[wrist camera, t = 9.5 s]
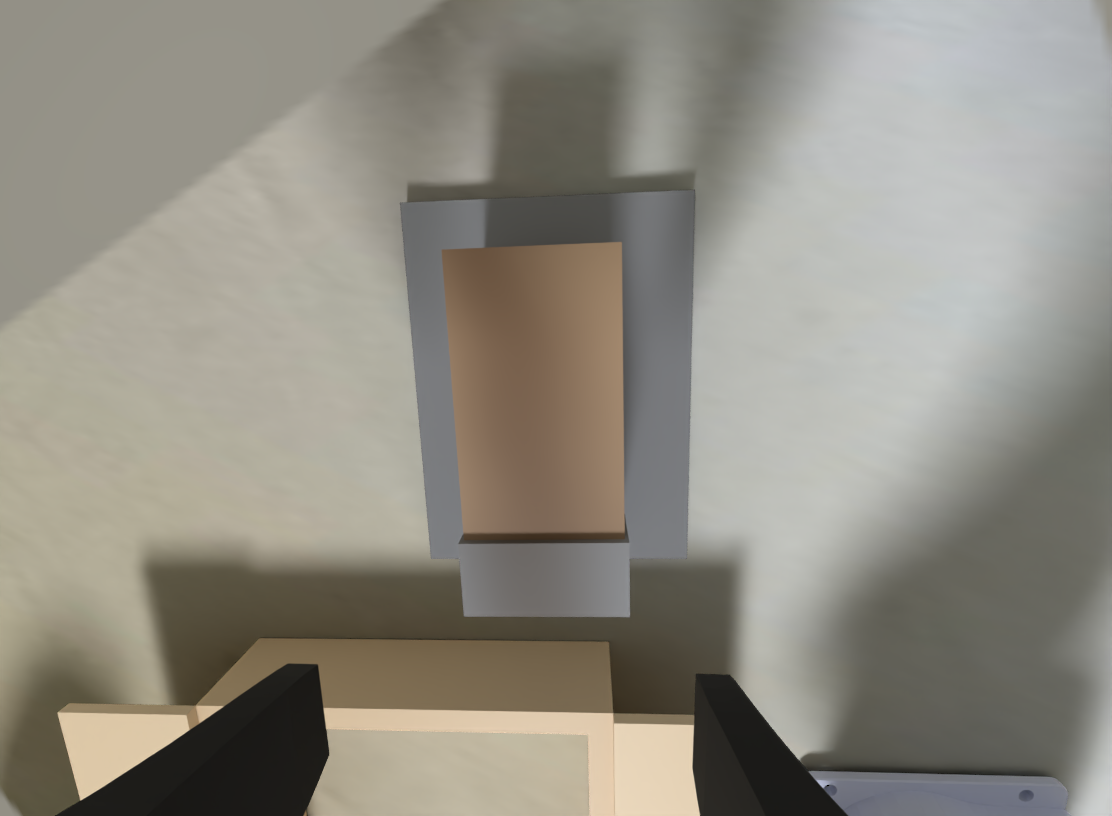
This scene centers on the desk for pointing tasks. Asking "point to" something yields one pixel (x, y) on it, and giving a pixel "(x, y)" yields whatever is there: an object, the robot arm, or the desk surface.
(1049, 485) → the desk surface
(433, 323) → the mat
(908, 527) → the desk surface
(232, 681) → the carton
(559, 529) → the walnut box
